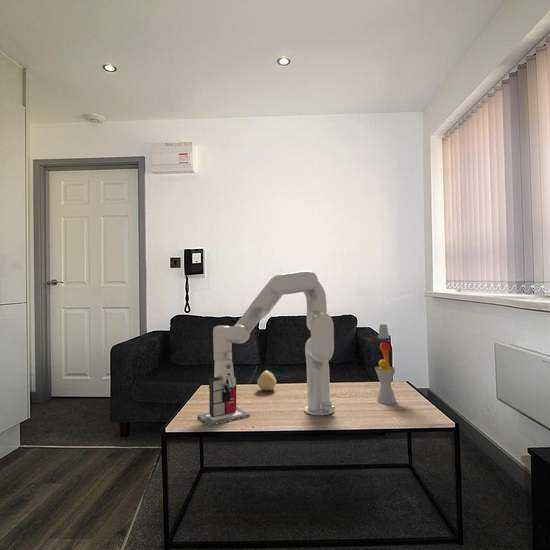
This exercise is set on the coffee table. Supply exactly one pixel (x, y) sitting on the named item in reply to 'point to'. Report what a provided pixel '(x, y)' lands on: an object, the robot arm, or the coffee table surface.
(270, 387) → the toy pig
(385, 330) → the lava lamp
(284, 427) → the coffee table surface
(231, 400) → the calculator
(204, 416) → the slate picture frame
